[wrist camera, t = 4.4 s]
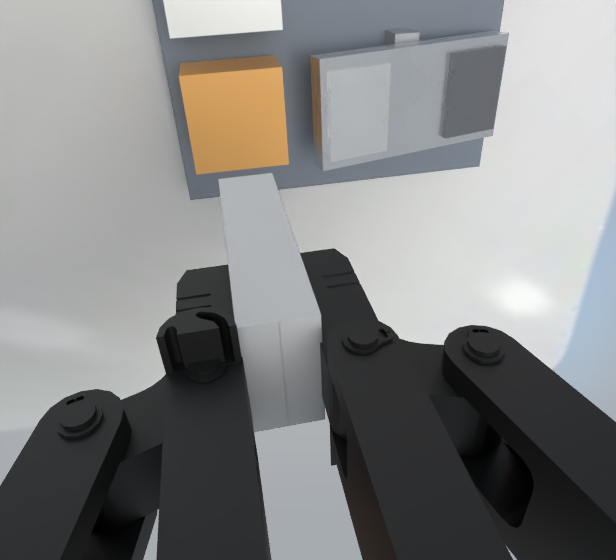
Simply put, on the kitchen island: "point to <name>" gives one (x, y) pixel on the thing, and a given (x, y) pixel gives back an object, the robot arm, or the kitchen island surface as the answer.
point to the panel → (297, 77)
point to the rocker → (404, 97)
